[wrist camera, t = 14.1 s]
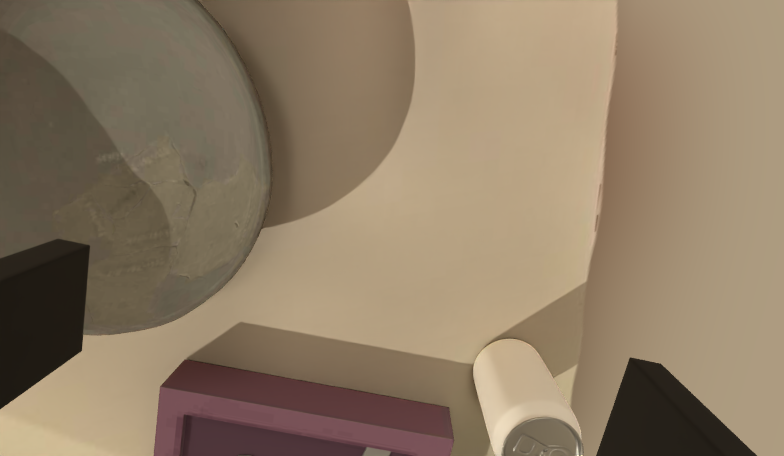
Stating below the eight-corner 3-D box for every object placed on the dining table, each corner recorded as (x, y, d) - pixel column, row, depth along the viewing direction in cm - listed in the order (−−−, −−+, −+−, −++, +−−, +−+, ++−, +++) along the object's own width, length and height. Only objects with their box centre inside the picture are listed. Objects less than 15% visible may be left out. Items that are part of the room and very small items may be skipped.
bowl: (263, -46, 39) (216, -102, 29) (321, 274, 44) (298, 317, 35) (-53, 6, 40) (-200, -30, 30) (41, 310, 46) (-58, 362, 36)
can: (523, 410, 47) (563, 507, 35) (460, 385, 46) (480, 475, 35) (554, 351, 45) (607, 432, 34) (490, 325, 45) (520, 398, 33)
